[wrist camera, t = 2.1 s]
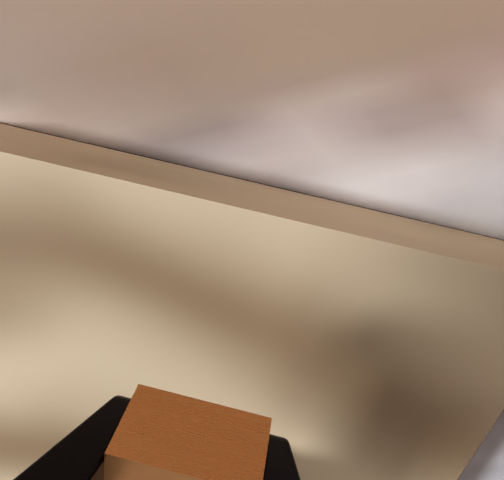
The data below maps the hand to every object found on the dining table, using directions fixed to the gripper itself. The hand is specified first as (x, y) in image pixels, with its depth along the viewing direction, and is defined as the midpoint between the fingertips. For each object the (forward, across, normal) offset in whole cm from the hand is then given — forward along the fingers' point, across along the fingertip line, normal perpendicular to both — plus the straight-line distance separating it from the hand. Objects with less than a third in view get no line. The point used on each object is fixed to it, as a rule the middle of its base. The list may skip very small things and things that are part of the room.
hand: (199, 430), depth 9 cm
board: (+5, 0, +8) cm, 9 cm away
